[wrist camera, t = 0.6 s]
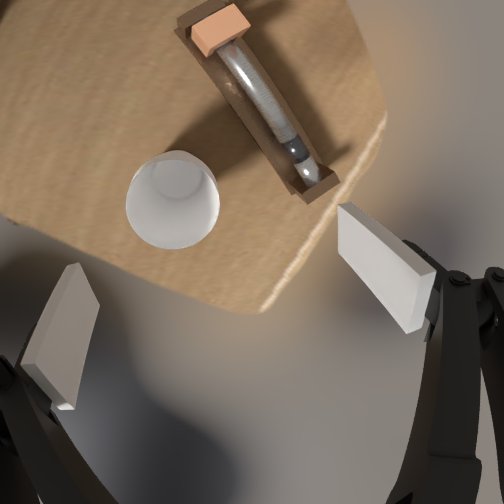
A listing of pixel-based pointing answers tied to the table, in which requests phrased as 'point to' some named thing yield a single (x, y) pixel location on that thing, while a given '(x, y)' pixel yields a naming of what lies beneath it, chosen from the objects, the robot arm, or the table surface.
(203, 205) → the cup
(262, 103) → the wooden rod stand
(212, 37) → the tan block
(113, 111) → the table surface
